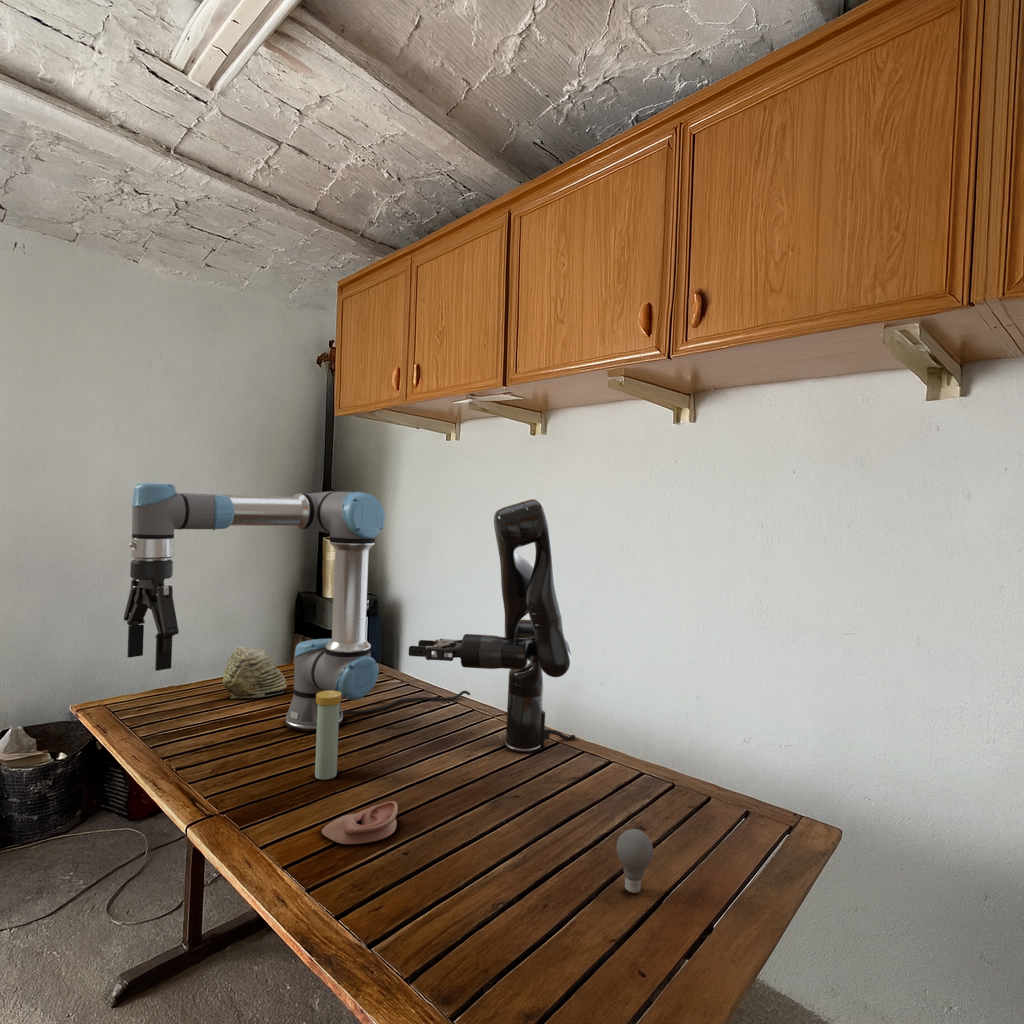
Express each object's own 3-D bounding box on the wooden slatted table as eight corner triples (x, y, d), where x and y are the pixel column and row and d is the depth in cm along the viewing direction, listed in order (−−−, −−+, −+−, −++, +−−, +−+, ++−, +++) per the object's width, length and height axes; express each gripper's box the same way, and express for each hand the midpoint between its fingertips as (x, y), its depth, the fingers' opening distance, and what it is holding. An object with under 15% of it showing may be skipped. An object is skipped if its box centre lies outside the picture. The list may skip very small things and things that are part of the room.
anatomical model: (313, 818, 117) (342, 790, 128) (313, 839, 117) (341, 810, 128) (381, 829, 114) (404, 800, 125) (380, 850, 114) (403, 819, 125)
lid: (316, 706, 140) (316, 698, 140) (314, 698, 146) (315, 691, 145) (342, 704, 142) (343, 697, 142) (340, 697, 148) (340, 689, 148)
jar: (315, 780, 141) (318, 700, 141) (314, 771, 146) (317, 693, 145) (337, 778, 143) (340, 698, 142) (335, 769, 147) (338, 692, 147)
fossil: (218, 695, 195) (220, 647, 195) (278, 685, 208) (279, 640, 207) (228, 703, 189) (230, 653, 188) (289, 692, 201) (290, 645, 201)
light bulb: (610, 879, 108) (613, 822, 108) (644, 879, 109) (647, 822, 109) (619, 902, 102) (622, 840, 102) (655, 901, 103) (658, 840, 103)
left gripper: (108, 554, 134) (104, 654, 134) (159, 565, 118) (155, 678, 119) (146, 552, 140) (143, 648, 140) (199, 563, 124) (195, 671, 124)
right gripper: (488, 630, 152) (422, 627, 153) (479, 639, 138) (406, 635, 139) (487, 662, 151) (420, 658, 153) (477, 674, 137) (404, 670, 139)
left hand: (148, 662), depth 129 cm, fingers open, 13 cm apart
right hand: (414, 647), depth 146 cm, fingers open, 8 cm apart
